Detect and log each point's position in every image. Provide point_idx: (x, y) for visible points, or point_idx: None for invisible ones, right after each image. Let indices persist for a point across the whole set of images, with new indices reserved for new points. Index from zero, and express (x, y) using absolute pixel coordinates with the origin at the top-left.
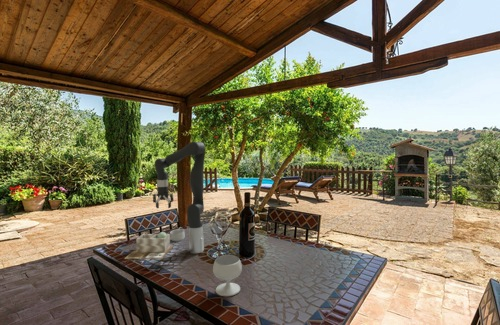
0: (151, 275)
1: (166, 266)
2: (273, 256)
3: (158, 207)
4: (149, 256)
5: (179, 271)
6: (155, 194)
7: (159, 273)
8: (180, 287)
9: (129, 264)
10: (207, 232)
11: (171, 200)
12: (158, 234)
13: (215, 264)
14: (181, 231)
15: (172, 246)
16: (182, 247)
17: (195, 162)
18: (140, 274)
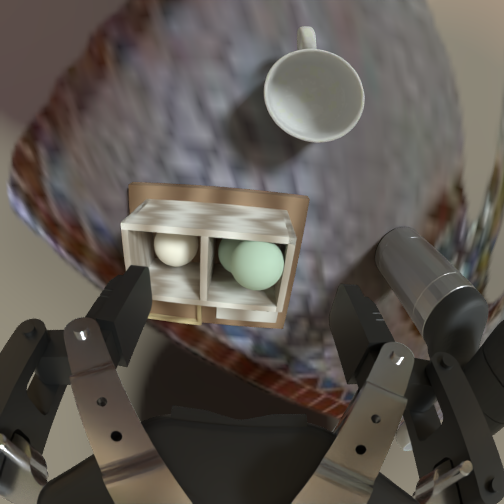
0: (272, 382)
1: (302, 350)
2: None
3: (147, 281)
4: (228, 312)
5: (339, 370)
6: (19, 500)
7: (290, 376)
8: (339, 407)
9: (177, 330)
10: (430, 17)
11: (417, 419)
12: (236, 277)
13: (401, 448)
14: (332, 62)
15: (300, 211)
16: (344, 200)
17: None
18: (241, 377)
